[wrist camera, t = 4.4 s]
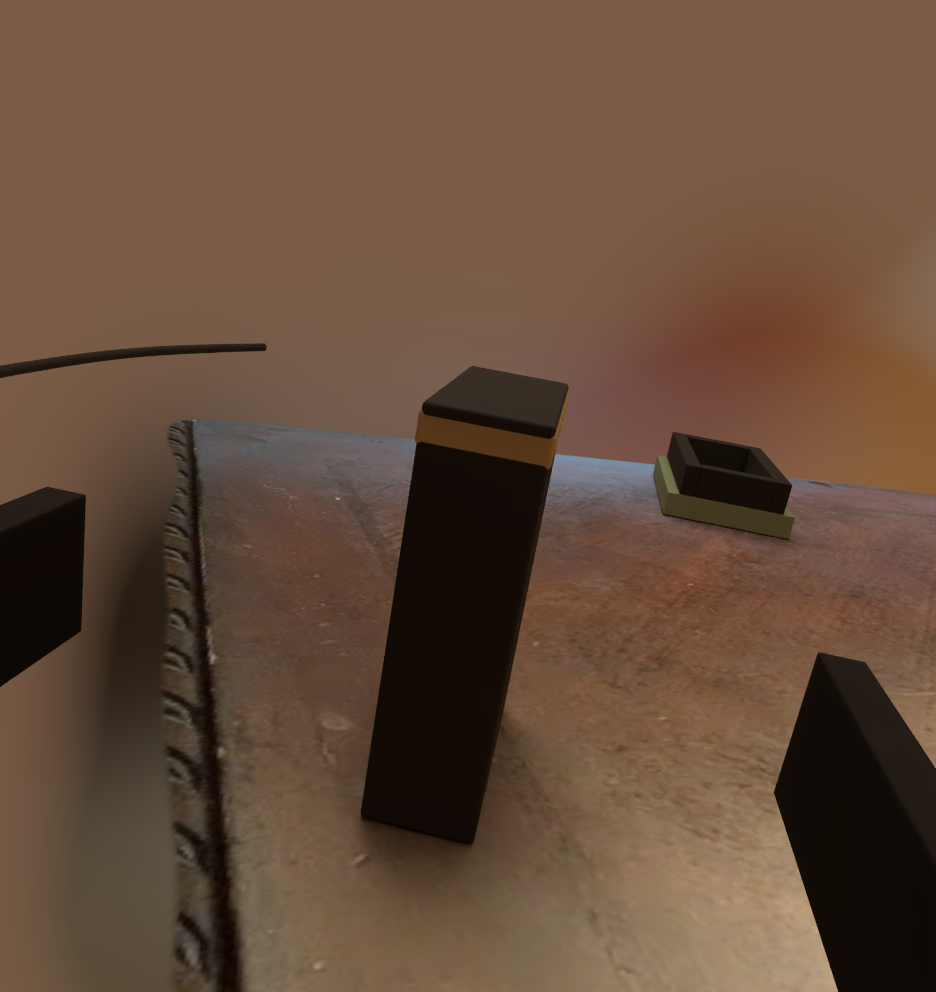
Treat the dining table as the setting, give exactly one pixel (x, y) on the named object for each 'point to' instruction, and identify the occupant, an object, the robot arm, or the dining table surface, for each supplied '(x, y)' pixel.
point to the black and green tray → (723, 485)
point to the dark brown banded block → (460, 596)
